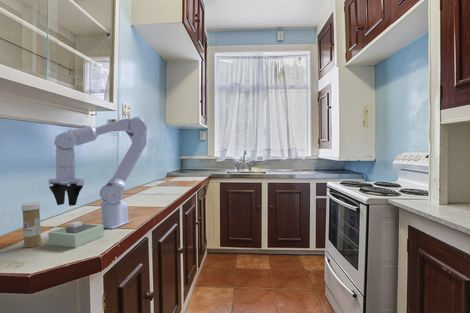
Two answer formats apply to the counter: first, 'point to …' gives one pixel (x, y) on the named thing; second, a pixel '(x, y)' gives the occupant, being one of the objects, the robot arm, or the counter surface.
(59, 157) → the robot arm
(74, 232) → the grey plug
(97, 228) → the green box
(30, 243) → the sprinkles bottle
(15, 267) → the counter surface
